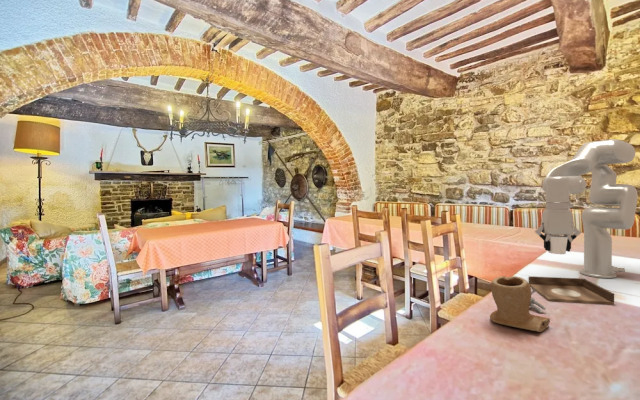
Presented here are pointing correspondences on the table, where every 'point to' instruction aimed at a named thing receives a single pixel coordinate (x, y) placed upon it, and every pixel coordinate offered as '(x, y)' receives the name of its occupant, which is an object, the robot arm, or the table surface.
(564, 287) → the corner board
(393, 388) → the table surface
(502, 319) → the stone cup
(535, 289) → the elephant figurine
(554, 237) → the shot glass
